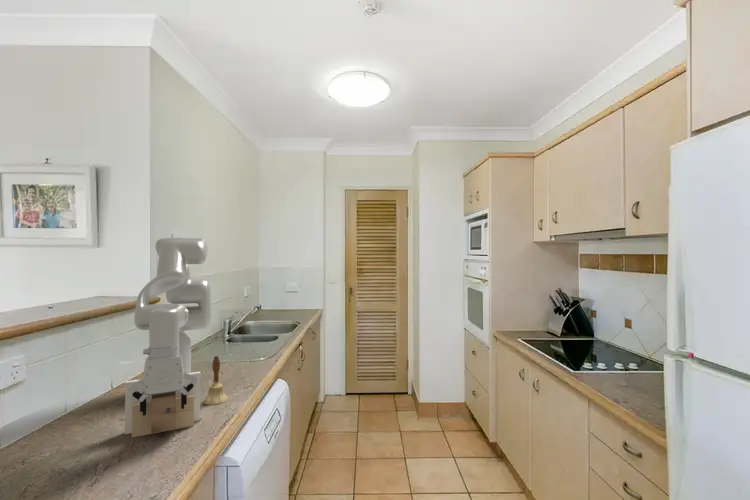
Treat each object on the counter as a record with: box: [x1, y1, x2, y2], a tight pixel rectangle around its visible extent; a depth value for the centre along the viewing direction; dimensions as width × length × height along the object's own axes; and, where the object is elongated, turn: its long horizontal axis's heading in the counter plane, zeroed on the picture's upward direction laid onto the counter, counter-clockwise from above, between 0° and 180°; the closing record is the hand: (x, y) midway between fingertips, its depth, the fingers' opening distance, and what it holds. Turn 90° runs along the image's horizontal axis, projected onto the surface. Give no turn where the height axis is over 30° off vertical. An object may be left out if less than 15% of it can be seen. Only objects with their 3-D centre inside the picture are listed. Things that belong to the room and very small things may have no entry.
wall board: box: [124, 371, 201, 438], centre depth 115 cm, size 5×20×15 cm, turn 118°
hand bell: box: [202, 355, 229, 406], centre depth 137 cm, size 8×8×16 cm
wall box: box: [150, 391, 176, 435], centre depth 111 cm, size 9×6×10 cm
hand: (163, 410), depth 110 cm, fingers open, 9 cm apart
